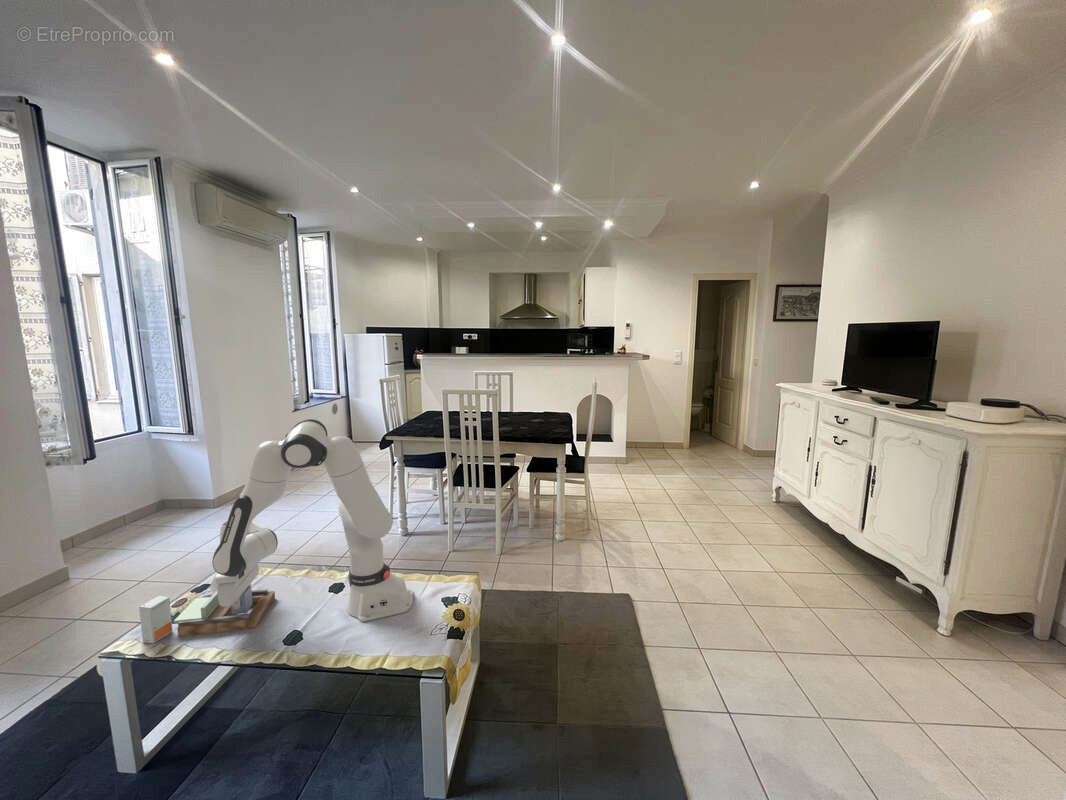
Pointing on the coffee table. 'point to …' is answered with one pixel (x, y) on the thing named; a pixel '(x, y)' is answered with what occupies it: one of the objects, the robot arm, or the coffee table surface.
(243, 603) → the block
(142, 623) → the skincare box
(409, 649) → the coffee table surface
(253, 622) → the wooden box frame
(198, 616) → the lid
